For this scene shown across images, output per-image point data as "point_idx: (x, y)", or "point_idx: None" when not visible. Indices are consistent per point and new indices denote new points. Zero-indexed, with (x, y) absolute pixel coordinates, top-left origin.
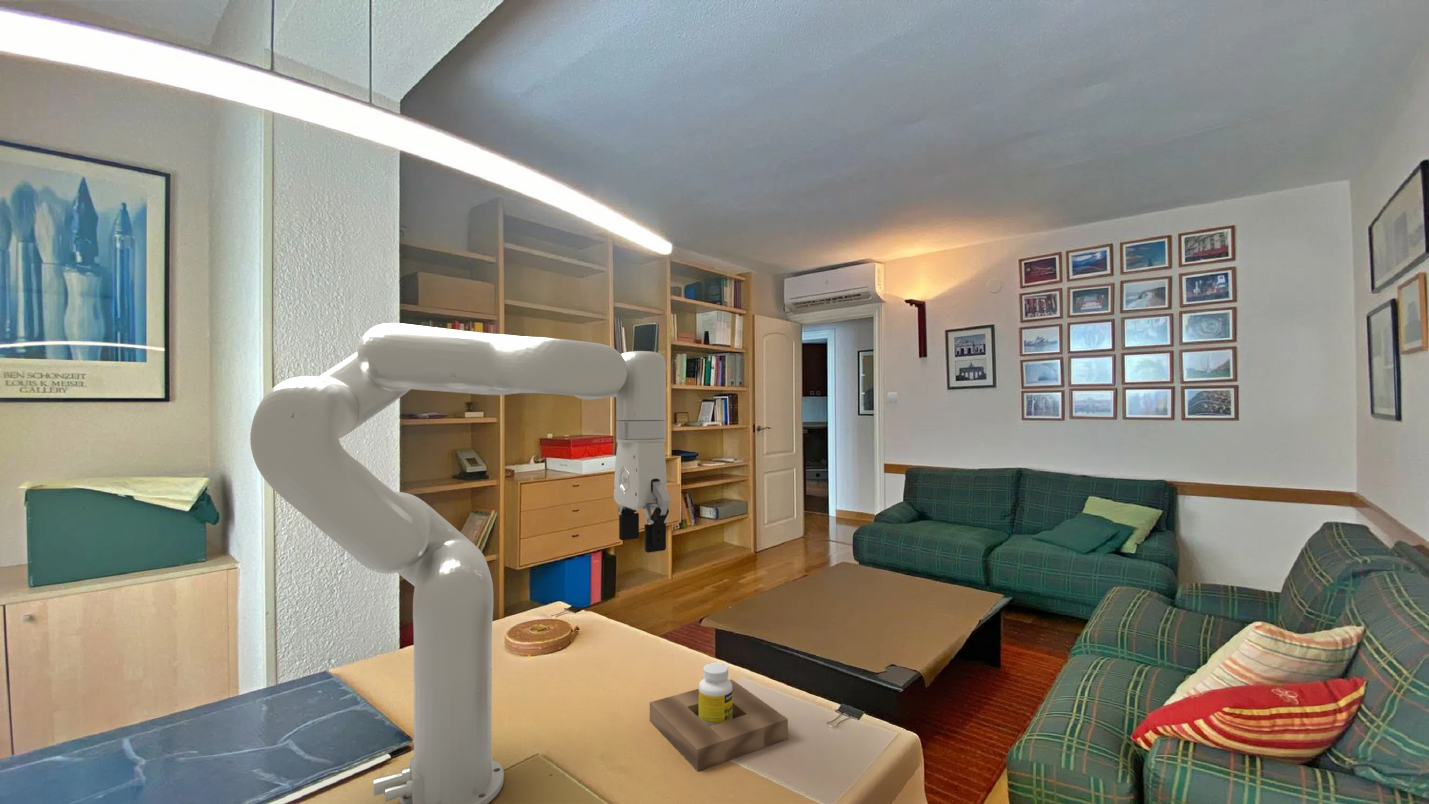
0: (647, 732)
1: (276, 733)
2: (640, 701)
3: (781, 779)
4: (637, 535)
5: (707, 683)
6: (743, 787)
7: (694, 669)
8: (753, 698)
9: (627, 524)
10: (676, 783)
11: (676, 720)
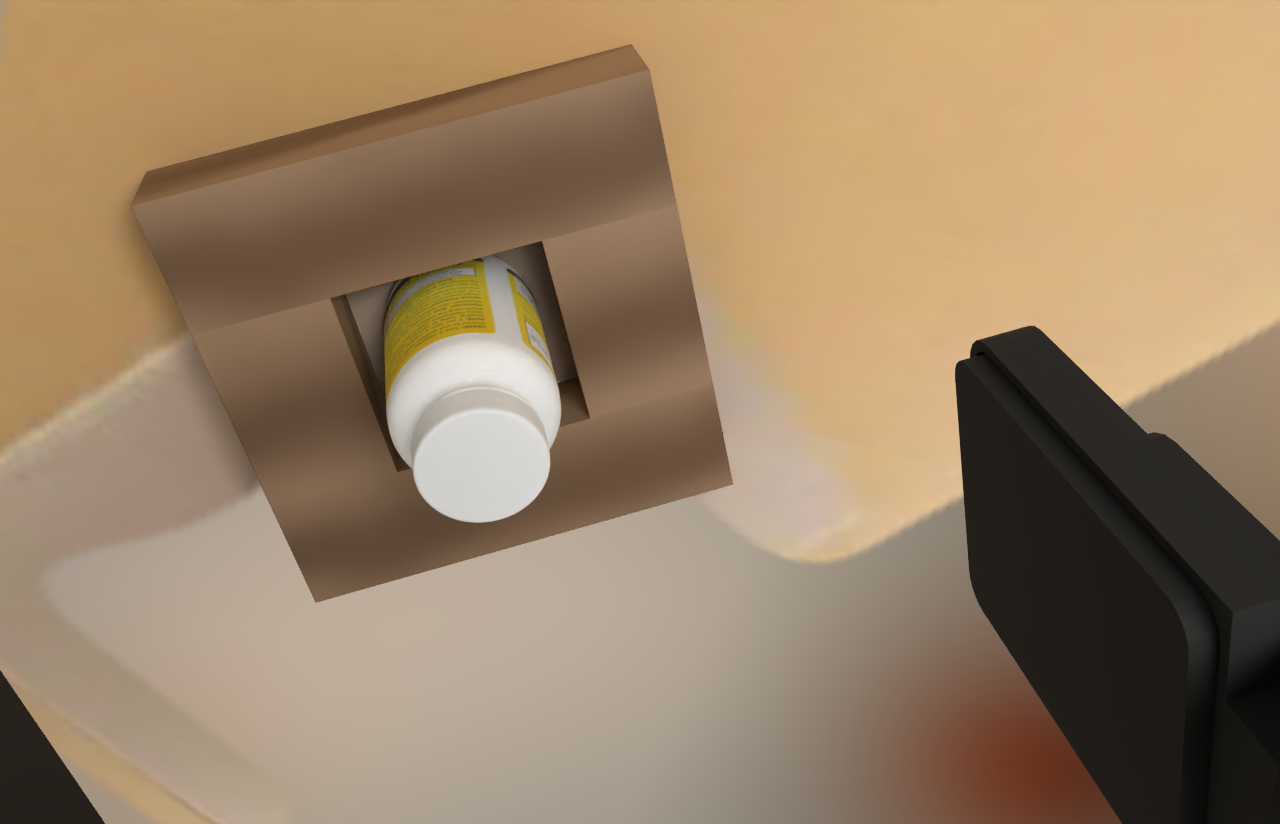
0: (529, 13)
1: None
2: (838, 33)
3: (41, 460)
4: (982, 602)
5: (446, 388)
6: (3, 319)
7: None
8: (525, 525)
9: (1081, 598)
10: (66, 62)
11: (423, 166)
